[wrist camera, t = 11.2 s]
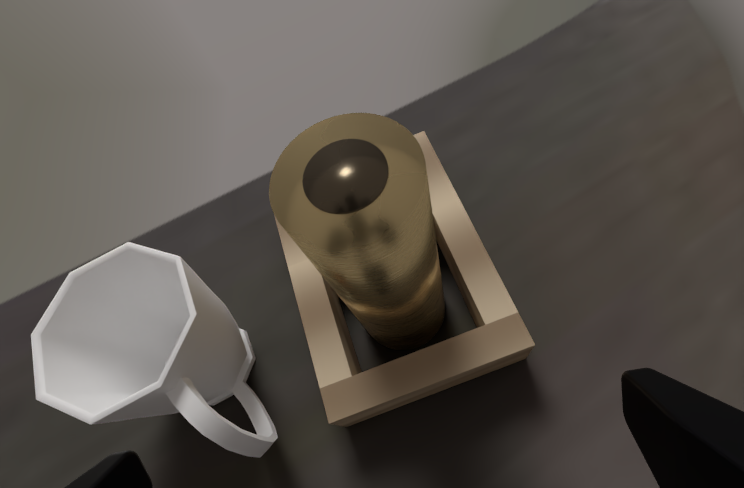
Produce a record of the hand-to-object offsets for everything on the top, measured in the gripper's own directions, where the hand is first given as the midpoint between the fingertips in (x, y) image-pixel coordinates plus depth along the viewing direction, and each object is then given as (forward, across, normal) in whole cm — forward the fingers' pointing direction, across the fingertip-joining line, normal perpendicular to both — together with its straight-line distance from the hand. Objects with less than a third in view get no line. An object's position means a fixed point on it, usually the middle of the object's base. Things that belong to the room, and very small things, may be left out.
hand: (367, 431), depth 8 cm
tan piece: (+14, 0, +5) cm, 15 cm away
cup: (+13, +10, +7) cm, 17 cm away
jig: (+15, 0, +4) cm, 16 cm away
